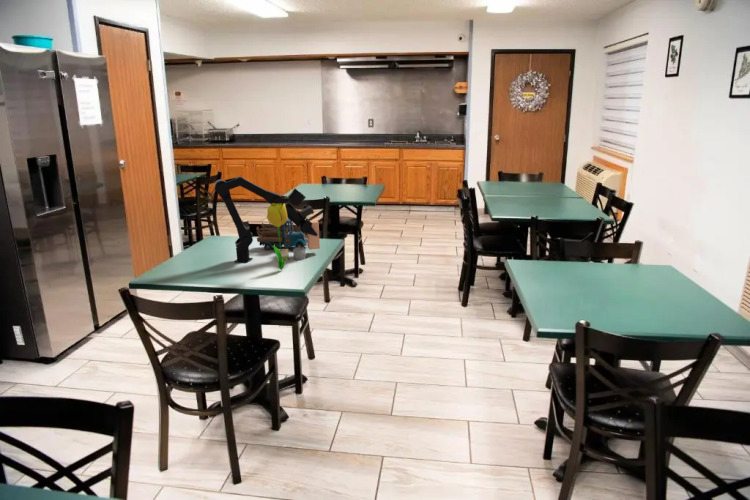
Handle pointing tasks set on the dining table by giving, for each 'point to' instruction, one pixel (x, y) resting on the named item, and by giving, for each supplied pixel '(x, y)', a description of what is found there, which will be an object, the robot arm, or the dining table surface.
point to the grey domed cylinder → (299, 253)
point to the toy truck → (281, 236)
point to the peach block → (314, 237)
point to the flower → (277, 225)
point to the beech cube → (284, 254)
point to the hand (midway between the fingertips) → (315, 234)
